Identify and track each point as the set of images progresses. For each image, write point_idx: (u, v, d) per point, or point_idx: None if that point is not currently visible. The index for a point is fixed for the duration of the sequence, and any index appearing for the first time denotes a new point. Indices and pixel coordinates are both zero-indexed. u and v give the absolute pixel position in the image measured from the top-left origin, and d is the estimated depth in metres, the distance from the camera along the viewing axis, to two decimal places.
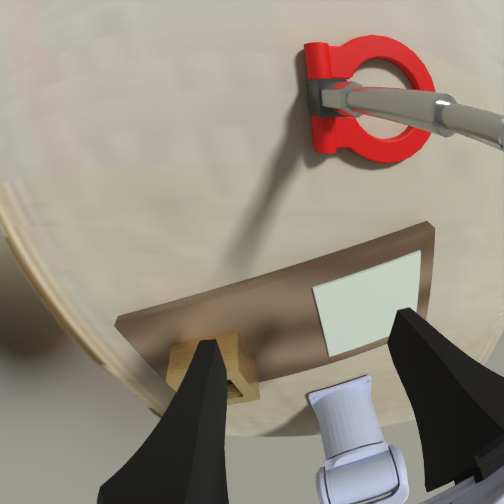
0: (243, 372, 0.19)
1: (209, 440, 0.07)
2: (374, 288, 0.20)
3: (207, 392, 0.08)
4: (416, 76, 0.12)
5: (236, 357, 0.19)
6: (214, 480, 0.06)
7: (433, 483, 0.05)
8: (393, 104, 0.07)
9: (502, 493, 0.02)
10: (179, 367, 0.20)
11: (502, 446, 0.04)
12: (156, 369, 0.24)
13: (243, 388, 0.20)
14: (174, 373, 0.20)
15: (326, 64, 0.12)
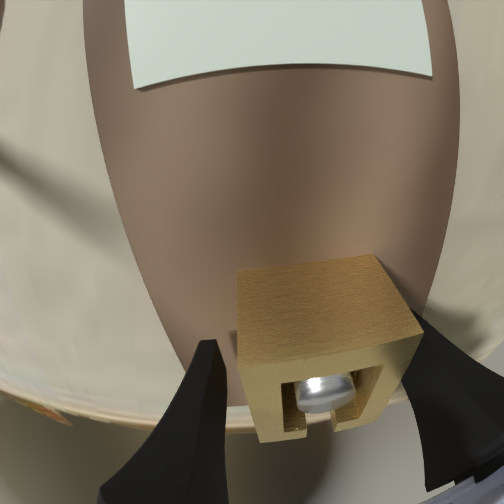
0: (281, 348, 0.07)
1: (209, 440, 0.07)
2: None
3: (207, 392, 0.08)
4: None
5: (237, 335, 0.07)
6: (214, 480, 0.06)
7: (433, 483, 0.05)
8: None
9: (502, 493, 0.02)
10: None
11: (502, 446, 0.04)
12: None
13: (343, 365, 0.07)
14: None
15: None
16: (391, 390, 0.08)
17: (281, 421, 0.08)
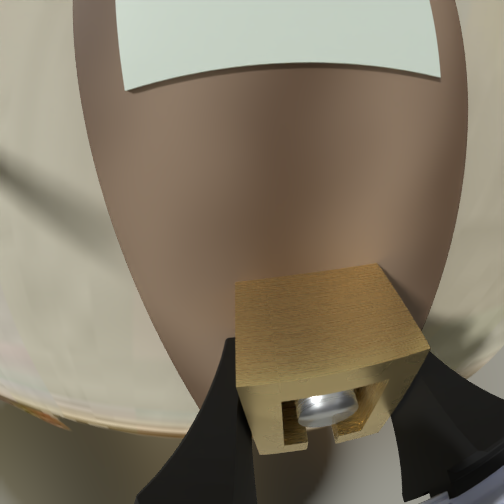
0: (282, 366, 0.06)
1: (243, 439, 0.07)
2: None
3: None
4: None
5: (236, 352, 0.07)
6: (248, 479, 0.06)
7: (409, 494, 0.05)
8: None
9: (502, 493, 0.02)
10: None
11: (479, 462, 0.04)
12: None
13: (346, 383, 0.06)
14: None
15: None
16: (394, 403, 0.07)
17: (281, 435, 0.08)
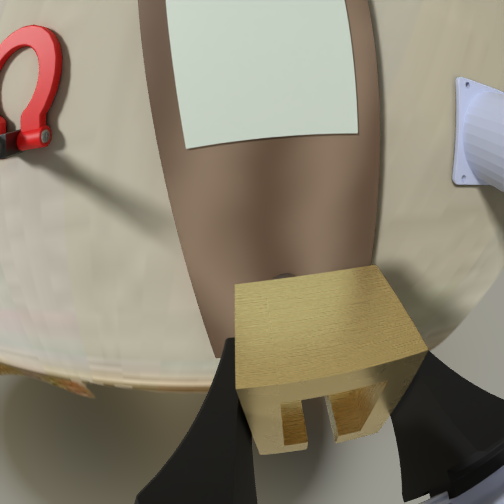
0: (281, 368, 0.06)
1: (243, 439, 0.07)
2: (212, 54, 0.11)
3: None
4: None
5: None
6: (248, 479, 0.06)
7: (409, 494, 0.05)
8: None
9: (502, 493, 0.02)
10: None
11: (479, 462, 0.04)
12: None
13: (344, 384, 0.06)
14: None
15: None
16: (393, 404, 0.07)
17: (281, 436, 0.08)
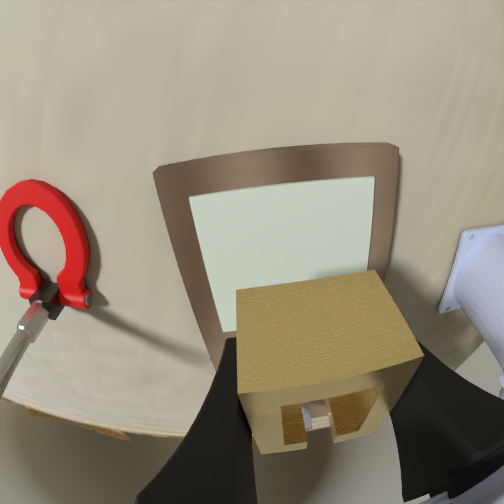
0: (281, 373, 0.06)
1: (243, 439, 0.07)
2: (243, 268, 0.15)
3: None
4: (10, 211, 0.13)
5: None
6: (248, 479, 0.06)
7: (409, 494, 0.05)
8: None
9: (502, 493, 0.02)
10: None
11: (479, 462, 0.04)
12: None
13: (342, 388, 0.06)
14: None
15: (30, 293, 0.15)
16: (390, 406, 0.08)
17: (281, 436, 0.08)
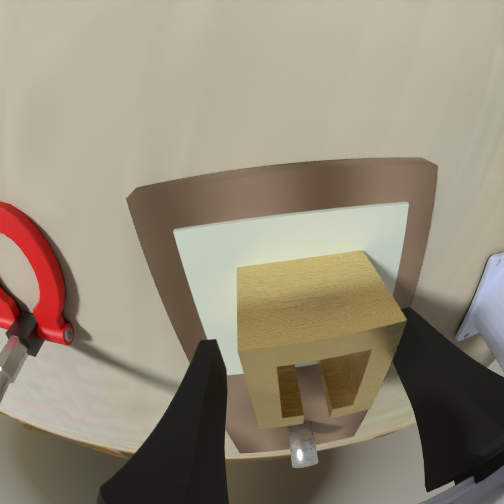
0: (276, 333, 0.08)
1: (209, 440, 0.07)
2: None
3: (207, 392, 0.08)
4: None
5: None
6: (214, 480, 0.06)
7: (433, 483, 0.05)
8: None
9: (502, 493, 0.02)
10: None
11: (502, 446, 0.04)
12: None
13: (332, 349, 0.07)
14: None
15: (8, 324, 0.13)
16: (381, 376, 0.09)
17: (279, 406, 0.09)
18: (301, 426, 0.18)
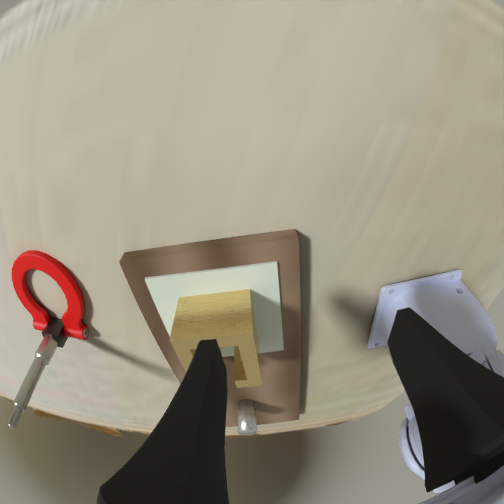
0: (187, 333, 0.16)
1: (209, 440, 0.07)
2: None
3: (207, 392, 0.08)
4: (22, 271, 0.18)
5: (172, 327, 0.17)
6: (214, 480, 0.06)
7: (433, 483, 0.05)
8: None
9: (502, 493, 0.02)
10: None
11: (502, 446, 0.04)
12: (258, 423, 0.31)
13: None
14: None
15: (42, 326, 0.21)
16: (255, 363, 0.17)
17: None
18: (245, 403, 0.27)
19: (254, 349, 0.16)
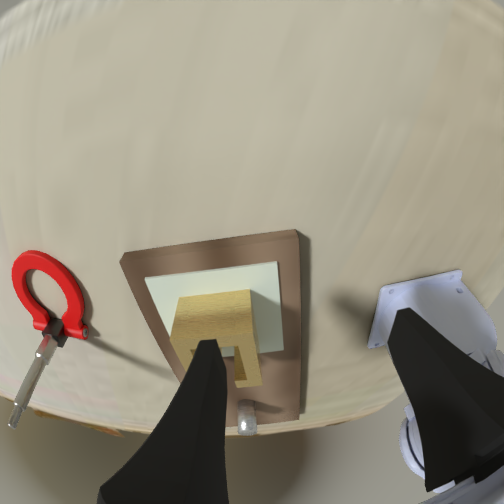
0: (187, 333, 0.16)
1: (209, 440, 0.07)
2: None
3: (207, 392, 0.08)
4: (22, 271, 0.18)
5: (172, 327, 0.17)
6: (214, 480, 0.06)
7: (433, 483, 0.05)
8: None
9: (502, 493, 0.02)
10: None
11: (502, 446, 0.04)
12: (258, 423, 0.31)
13: None
14: None
15: (42, 326, 0.21)
16: (255, 363, 0.17)
17: None
18: (245, 403, 0.27)
19: (254, 349, 0.16)
